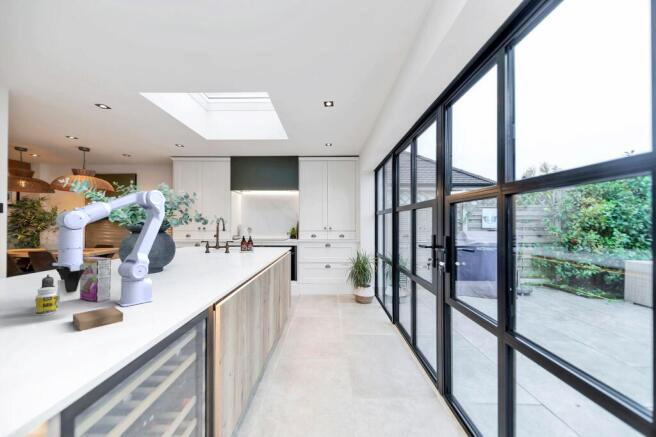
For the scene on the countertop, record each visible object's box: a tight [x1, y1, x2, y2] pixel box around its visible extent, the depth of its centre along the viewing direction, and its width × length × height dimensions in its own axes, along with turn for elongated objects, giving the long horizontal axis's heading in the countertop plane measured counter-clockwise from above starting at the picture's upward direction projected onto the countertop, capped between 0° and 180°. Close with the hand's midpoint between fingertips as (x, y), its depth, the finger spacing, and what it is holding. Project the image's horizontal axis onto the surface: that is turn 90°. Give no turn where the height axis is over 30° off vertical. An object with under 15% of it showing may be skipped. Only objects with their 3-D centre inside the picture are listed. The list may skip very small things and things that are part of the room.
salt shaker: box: [34, 274, 59, 309], centre depth 94 cm, size 6×6×12 cm
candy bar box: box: [79, 256, 112, 303], centre depth 104 cm, size 11×5×16 cm, turn 71°
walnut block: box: [72, 306, 124, 332], centre depth 82 cm, size 10×10×3 cm
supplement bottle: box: [34, 286, 57, 317], centre depth 88 cm, size 5×5×8 cm
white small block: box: [56, 279, 81, 303], centre depth 85 cm, size 5×5×6 cm
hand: (69, 290), depth 85 cm, fingers closed on white small block, 5 cm apart
